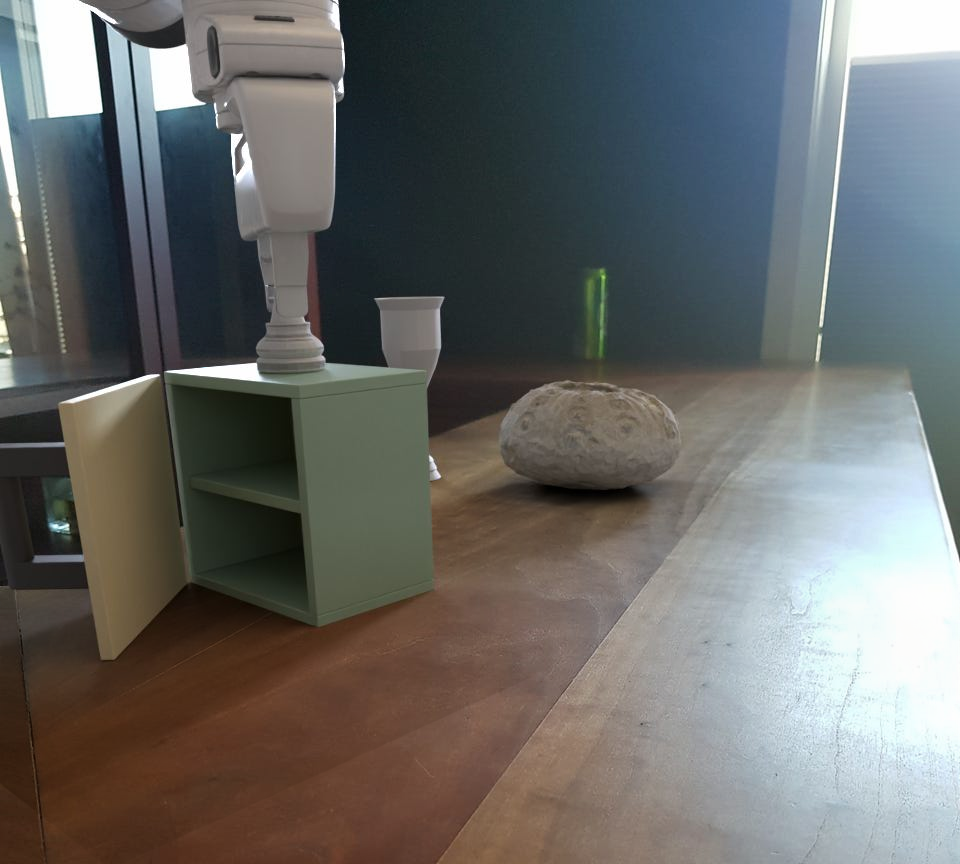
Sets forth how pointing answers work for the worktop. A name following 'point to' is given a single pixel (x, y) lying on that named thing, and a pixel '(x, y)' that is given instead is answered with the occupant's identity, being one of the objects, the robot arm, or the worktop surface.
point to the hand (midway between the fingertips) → (287, 315)
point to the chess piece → (288, 345)
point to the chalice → (412, 337)
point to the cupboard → (305, 486)
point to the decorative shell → (589, 436)
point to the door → (104, 509)
